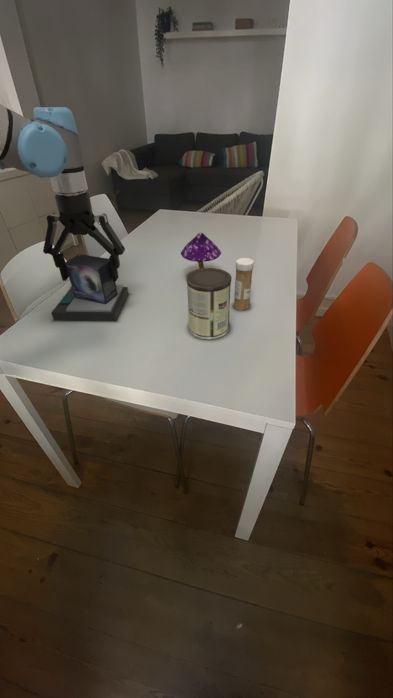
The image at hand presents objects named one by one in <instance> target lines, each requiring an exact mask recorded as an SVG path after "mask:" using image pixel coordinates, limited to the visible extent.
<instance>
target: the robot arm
mask: <svg viewBox="0 0 393 698" xmlns="http://www.w3.org/2000/svg"><path fill="white" fill-rule="evenodd" d="M32 112H33V119H29V118H28V117H25V116H23V115H22V114H20V113H18V112H16V111H14V110H11V109H9V108H7V107H5V106H4V105H3V104H1V103H0V170H3V171H4V170H5V169H16V170H19V171H22V172H25V173H28V174H31V175H33V176H36V177H38V178H49V179H50V184H51V188H52V191H53V192H54V193H55V194H54V200H55V203H56V207H57V210H58V213H59V215H58V214H56V213H54V212H52V213H50V214H49V215H47V216H46V222H47V229H46V233H45V239H44V244H43V249H42V252H43V254H45V255H47V254H48V255H51V256H52V260H53V263H54V266H55V268H57V269H59V272H60V276H61V277H60V278H61V280H62V281H63V282H65V281H67V280H68V279H69V275H68V272H67V269H66V265H65V262H66V259H65V256H64V252H61V250H62V248H63V247H64V245H65V243H66V241H67V239H68V238H69V236H70V235H71V234H72V235H73V236H79V235H80V236H87V235H88V236H89V237H90V238H93V239H94V240H95V241H96V242H97V243H98V245H100V246H101V247H102V248H103V249H104V250H105V251H106V252H107V253H108V254H109V255H110V256H109V257H108V259H109V261H110V266H111V272H112V277H113V282H115V283H116V282H117V281H118V280H119V271H118V270H119V269H120V266H121V263H120V262H121V261H120V256H122V255H123V254H124V253H125V251H126V248H125V245H124V244H123V243H122V241H121V240H120V238H119V236H118V235H117V234H116V232H115V230H114V229H113V227H112V225H111V224H110V222H109V219H108V216H107V214H106V213H102V214H99V215H94V212H93V207H92V202H91V197H90V196H91V195H90V193H89V192H88V191H87V190H88V189H89V187H88V182H87V181H88V180H87V177H86V171H85V166H84V162H83V156H82V151H81V146H80V140H79V132H78V128H77V124H76V120H75V117H74V114H73V111H72V110H71V109H70V108H68V107H66V106H53V107H51V106H46V107H44V106H40V107H39V106H36V107H33V109H32ZM96 222H97V224H98V225H99V226H100V227H101V229H102V230H103V232H104V234H105V235H106V237H105V236H104V235H103V234H102V232H101V231H100V230H99V228H98V227H97V226H96V225H95V223H96ZM59 223H61V225H62V226H63V227H64V228H63V230H62V232H61V234H60V236H59V238H58V239H57V241H56V243H55V245H54V241H55V237H56V231H57V227H58V224H59ZM107 238H108V239H107ZM53 245H54V246H53Z"/></svg>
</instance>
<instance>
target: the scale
mask: <svg viewBox="0 0 393 698" xmlns="http://www.w3.org/2000/svg"><path fill="white" fill-rule="evenodd" d="M116 288H117V293H118V294H117V295H116V296H115V297H114V298H113V299H111V300H110V301H109V302H108V303H107V304H103V303H98V302H94V301H89V300H85V299H80V298H75V296H74V293H73V289H72V286H71V287H70V288H69V290H68V291H67V292H66V293H65V295H63V296H62V298H61V299H60V301H59V302H58V303H57V305H56V306H55V307H54V309H52V311H51V312H50V314H51V317H52V319H53V321H57V322H58V321H59V322H60V321H61V322H65V321H66V322H67V321H69V322H73V321H74V322H117V321H118V319H119V317H120V314H121V313H122V310H123V308H124V305H125V304H126V301H127V299H128V297H129V294H130V293H129V288H128V286H125V285H123V284H116Z"/></svg>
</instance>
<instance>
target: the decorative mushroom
mask: <svg viewBox="0 0 393 698" xmlns="http://www.w3.org/2000/svg"><path fill="white" fill-rule="evenodd" d="M221 254H222V251H221V250H220V248H219V247H218V246H217V245H216V243H214V242H213V241H212V240H211V239H210V238H209V237H207V235H205V234H204V232H198V233H197V234H196V235H195V236H194V237H193V238H191V240H190V241H189V242H188V243H186V245H185V246H184V247H183V249H182V250H181V251H180V255H181V257H182V258H183V259H185V260H187V261H190V262H197V264H198V265H197V266H198V269H203V268H205V264H204V262H205V263H206V262H210V261H214V260H215V261H216V260H217V259H218V258H219V257H220V256H221Z"/></svg>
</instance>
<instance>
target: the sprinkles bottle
mask: <svg viewBox="0 0 393 698" xmlns="http://www.w3.org/2000/svg"><path fill="white" fill-rule="evenodd" d="M254 266H255V262H254V260H253V259H251V258H249V257H240V258H238V259H236V261H235V278H234V294H233V295H234V299H233V308H235V309H236V310H238V311H245V310H248V309H249V308H250V307H251V305H250V300H251V292H252V278H253V269H254Z"/></svg>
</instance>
